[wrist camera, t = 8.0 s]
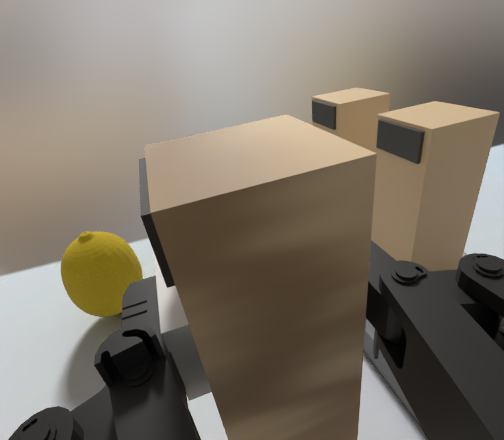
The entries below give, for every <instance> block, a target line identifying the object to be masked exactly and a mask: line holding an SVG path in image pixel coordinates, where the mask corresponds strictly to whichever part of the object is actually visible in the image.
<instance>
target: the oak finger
mask: <svg viewBox="0 0 504 440" xmlns="http://www.w3.org/2000/svg"><path fill="white" fill-rule="evenodd" d="M144 147H145V158H143V159H139V174H140V202H141V203H140V204H141V218H142V220H143V223H144V226H145V229H146V232H147V234H148V237H149V240H150V243H151V245H152V248H153V251H154V254H155V256H156V259H157V262H158V265H159V267H160V270H161V273H162V276H163V278H164V281H165V284H166V287H167V288H169V287H172V286H176V289H177V292H178V295H179V298H180V300H181V303H182V306H183V309H184V312H185V315H186V318H187V321H188V324H189V327H190V330H191V332H192V335H193V338H194V341H195V344H196V347H197V350H198V353H199V356H200V359H201V362H202V364H203V367H204V370H205V373H206V376H207V379H208V382H209V385H210V388H211V391H212V394H213V396H214V399H215V402H216V405H217V408H218V411H219V414H220V417H221V420H222V423H223V426H224V428H225V431H226V434H227V437H228V440H357V436H358V421H359V407H360V392H361V378H362V363H363V349H364V334H365V320H366V305H367V291H368V276H369V262H370V247H371V233H372V218H373V204H374V189H375V175H376V160H377V153H375V152H372V151H370V150H368V149H365V148H363V147H361V146H359V145H356V144H354V143H352V142H349V141H347V140H345V139H342V138H340V137H338V136H336V135H333V134H331V133H329V132H326V131H324V130H322V129H319V128H317V127H315V126H313V125H310V124H308V123H306V122H303V121H301V120H299V119H296V118H294V117H292V116H289V115H282V116H278V117H273V118H268V119H264V120H260V121H255V122H250V123H246V124H241V125H237V126H232V127H227V128H223V129H218V130H214V131H209V132H204V133H200V134H196V135H191V136H187V137H182V138H177V139H173V140H168V141H164V142H159V143H154V144H150V145H145V146H144Z"/></svg>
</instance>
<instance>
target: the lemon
mask: <svg viewBox="0 0 504 440" xmlns="http://www.w3.org/2000/svg"><path fill="white" fill-rule="evenodd" d="M61 276H62V281H63V284H64V287H65V289H66V291H67V293H68V295H69V297H70V299H71V300H72V301H73V303H74V304H75V305H76V306H77V307H79V308H80V309H81V310H83V311H84V312H86V313H88V314H90V315H94V316H99V317H109V316H114V315H117V314H119V313H122V299H123V294H124V293H125V291H126V289H127V287H128V286H129V284H130V283H133V282H136V281H139V280H143V278H142V269H141V265H140V262H139V260H138V258H137V256H136V255H135V253H134V251H133V250H132V248H131V247H130V246H129V245H128V244H127V242H125V241H124V240H123V239H122V238H120V237H118V236H117V235H114V234H111V233H107V232H89V231H87V232H83V233H81V234H80V236H79V238H77V239H76V240H74V241H73V242H72V243H71V244H70V245H69V246H68V248H67V249H66V251H65V253H64V255H63V257H62V261H61Z"/></svg>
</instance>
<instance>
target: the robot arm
mask: <svg viewBox="0 0 504 440" xmlns="http://www.w3.org/2000/svg"><path fill="white" fill-rule="evenodd" d="M154 262H155V274H156V276H153V277H149V278H146V279H143V280H139V281H136V282H133V283H130V284H129V286H128V287H127V289H126V291H125V293H124V294H123V299H122V321H121V329H120V330H119V331H117V332H115V333H114V334H112V335H111V336H109V337H108V338H107V339H106V340H105V341H104V342H103V343H102V344H101V346H100V348H99V350H98V351H97V353H96V355H95V363H94V366H95V367H96V369H97V370H98V372H99V374H100V375H101V377H102V378H103V380H104V381H105V383H106V386H105V387H104V388H103V389H102V390H101V391H100V392H99V393H97V394H96V395H95V396H93V397H92V398H90V399H89V400H87V401H86V402H84V403H83V404H81V405H80V406H78V407H77V408H75V409H74V410H72V411H71V412H70V411H69V410H68V409H66V408H63V407H59V406H58V407H51V408H46V409H44V410H42V411H40V412H38V413H36V414H34V415H33V416H31V417H30V418H29V419H28V420H26V421H25V422H24V423H23V424H21V425H20V426H19V428H18V429H17V430H16V431H15V432H14V433H13V435H12V436H11V437H10V438H9V440H201V439H200V436H199V434H198V431H197V428H196V426H195V423H194V421H193V418H192V416H191V414H190V411H189V409H188V403H187V397H188V399H189V400H192V399H195V398H197V397H200V396H202V395H205V394H207V393H210V392H212V391H211V388H210V385H209V382H208V379H207V376H206V373H205V370H204V367H203V364H202V362H201V359H200V356H199V353H198V350H197V347H196V344H195V341H194V338H193V335H192V332H191V330H190V327H189V324H188V321H187V318H186V315H185V312H184V309H183V306H182V303H181V300H180V298H179V295H178V292H177V289H176V286H172V287H169V288H167V287H166V284H165V281H164V278H163V276H162V273H161V270H160V267H159V265H158V262H157V259H156V256H155V254H154ZM503 318H504V260H503V259H501V258H498V257H496V256H492V255H488V254H476V253H473V254H469V255H465V256H464V257H462V258H461V259H460V261H459V264H458V268H457V269H455V270H443V271H428V270H427V269H426V268H424V267H423V266H421V265H419V264H417V263H414V262H410V261H404V260H399V261H396V260H395V259H394V258H393V257H391V256H390V255H389V254H388V253H386V252H385V251H384V250H383V249H382V248H380V247H379V246H378V245H377V244H375V243H374V242H373V241H372V240H371V247H370V262H369V276H368V291H367V305H366V319H367V320H368V321H369V322H370V323H371V324H372V326H373V327H374V328H375V333H374V344H373V355H374V359H378V356H379V349H380V351H381V353H382V355H383V358H385V360H386V362H387V364H388V366H389V368H390V370H391V371H392V373H393V375H394V377H395V379H396V381H397V383H398V384H399V386H400V388H401V390H402V392H403V394H404V395H405V397H406V399H407V401H408V403H409V405H410V407H411V408H412V410H413V412H414V414H415V416H416V418H417V420H418V421H419V423H420V425H421V427H422V429H423V431H424V433H425V434H426V436H427V438H428V440H504V327H502V326H501V323H502V320H503ZM365 329H366V320H365ZM186 394H187V396H186Z"/></svg>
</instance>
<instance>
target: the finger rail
mask: <svg viewBox="0 0 504 440" xmlns="http://www.w3.org/2000/svg"><path fill="white" fill-rule="evenodd" d="M389 99H390V93H385V92H379V91H373V90H368V89H362V88H352V89H347V90H343V91H337V92H333V93H327V94H323V95H318V96H313V97H312V120H313V126H315V127H317V128H319V129H322V130H324V131H326V132H329V133H331V134H333V135H336V136H338V137H340V138H342V139H345V140H347V141H349V142H352V143H354V144H356V145H359V146H361V147H363V148H365V149H368V150H370V151H372V152H375V153H377V160H376V175H375V189H374V204H373V218H372V233H371V240H372V241H373V242H374V243H375V244H377V245H378V246H379V247H380V248H382V249H383V250H384V251H385V252H386V253H388V254H389V255H390V256H391V257H393V258H394V259H395V260H396V261H399V260H404V261H410V262H414V263H417V264H419V265H421V266H423V267H424V268H426V269H427V270H428V271H443V270H455V269H457V268H458V264H459V261H460V259H461V258H462V257H464V256H465V255H468V254H466V253H464V248H465V244H466V240H467V236H468V233H469V229H470V225H471V221H472V217H473V213H474V210H475V206H476V202H477V198H478V194H479V190H480V187H481V183H482V179H483V175H484V171H485V167H486V163H487V160H488V156H489V152H490V148H491V144H492V140H493V137H494V133H495V129H496V125H497V121H498V117H499V114H500V113H499V112H494V111H488V110H482V109H477V108H471V107H465V106H460V105H454V104H448V103H442V102H436V101H434V102H430V103H426V104H421V105H416V106H412V107H408V108H403V109H398V110H394V111H390V112H388V111H389ZM501 326H502V327H504V318H503V320H502V323H501ZM374 333H375V328H374V327H373V326H372V324H371V323H370V322H369V321H368V320H367V319H366V329H365V334H364V349H363V351H364V352H365V353H366V355H367V356H368V357H369V359H370V360H371V361H372V363H373V364H374V365H375V367H376V368H377V369H378V370H379V372H380V373H381V374H382V376H383V377H384V378H385V380H386V381H387V382H388V384H389V385H390V386H391V388H392V389H393V390H394V392H395V393H396V394H397V396H398V397H399V398H400V400H401V401H402V402H403V404H404V405H405V406H406V408H407V409H408V410H409V412H410V413H411V414H412V415H413V417H414V418H415V419H416V421H417V422H418V423H419V421H418V420H417V418H416V416H415V414H414V412H413V410H412V408H411V407H410V405H409V403H408V401H407V399H406V397H405V395H404V394H403V392H402V390H401V388H400V386H399V384H398V383H397V381H396V379H395V377H394V375H393V373H392V371H391V370H390V368H389V366H388V364H387V362H386V360H385V358H383V355H382V353H381V351H380V349H379V356H378V359H374V355H373V344H374ZM419 425H420V423H419ZM420 426H421V425H420Z"/></svg>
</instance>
